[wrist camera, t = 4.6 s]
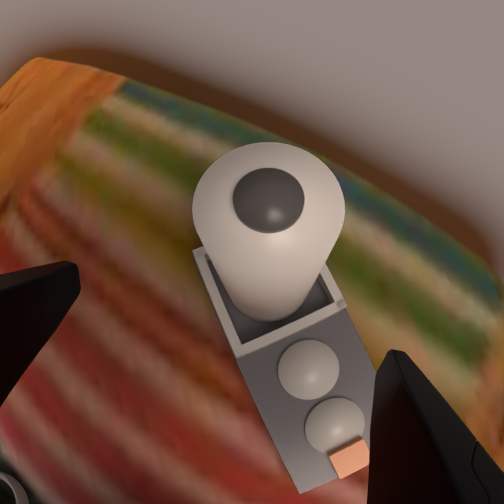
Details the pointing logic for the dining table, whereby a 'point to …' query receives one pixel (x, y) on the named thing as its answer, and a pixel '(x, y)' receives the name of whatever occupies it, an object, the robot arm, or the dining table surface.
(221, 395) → the dining table surface
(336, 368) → the power strip
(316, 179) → the cream cylinder
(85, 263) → the dining table surface
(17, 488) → the ceramic mug
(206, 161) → the dining table surface
